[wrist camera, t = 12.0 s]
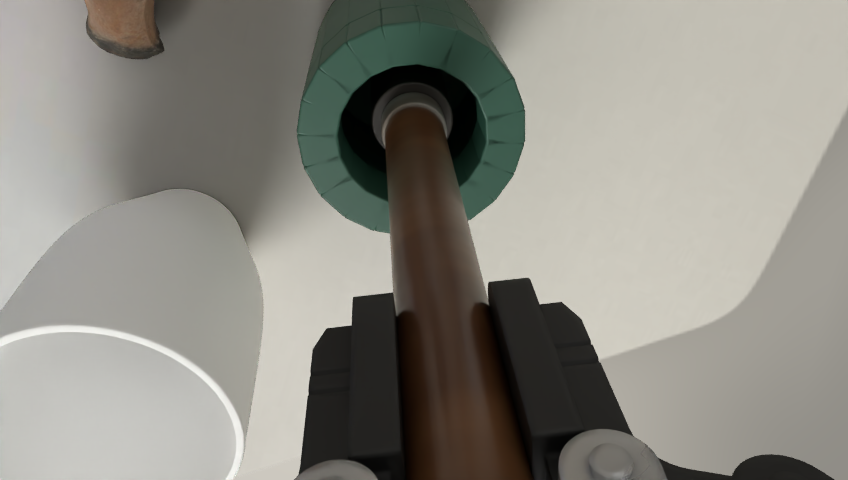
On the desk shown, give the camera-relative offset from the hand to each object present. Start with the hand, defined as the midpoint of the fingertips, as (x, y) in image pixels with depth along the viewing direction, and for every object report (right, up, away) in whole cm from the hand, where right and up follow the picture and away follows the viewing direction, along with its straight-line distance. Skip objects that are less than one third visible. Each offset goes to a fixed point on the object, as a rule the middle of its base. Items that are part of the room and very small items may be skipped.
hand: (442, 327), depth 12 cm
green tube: (-1, +9, +15) cm, 17 cm away
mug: (-13, +1, +19) cm, 23 cm away
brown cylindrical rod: (-1, +8, +14) cm, 16 cm away
